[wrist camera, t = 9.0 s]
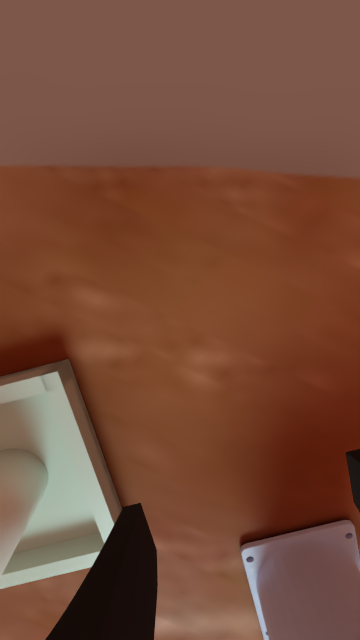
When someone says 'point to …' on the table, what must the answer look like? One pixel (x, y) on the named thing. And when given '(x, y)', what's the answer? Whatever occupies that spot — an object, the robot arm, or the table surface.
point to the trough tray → (57, 473)
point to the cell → (18, 497)
